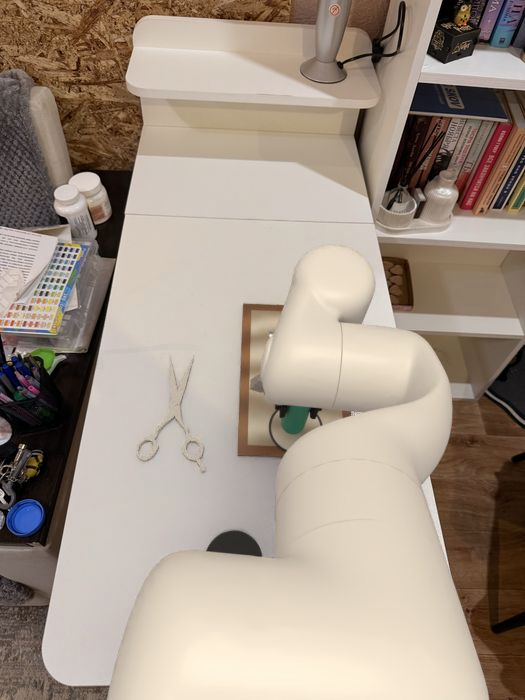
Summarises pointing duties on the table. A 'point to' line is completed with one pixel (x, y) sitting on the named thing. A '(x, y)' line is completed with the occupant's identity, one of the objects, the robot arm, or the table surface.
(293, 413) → the cylinder
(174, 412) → the scissors
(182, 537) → the table surface
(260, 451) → the board
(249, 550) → the coaster
